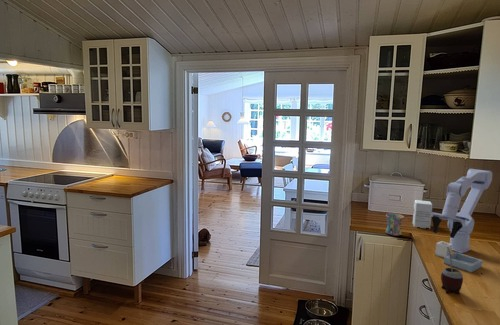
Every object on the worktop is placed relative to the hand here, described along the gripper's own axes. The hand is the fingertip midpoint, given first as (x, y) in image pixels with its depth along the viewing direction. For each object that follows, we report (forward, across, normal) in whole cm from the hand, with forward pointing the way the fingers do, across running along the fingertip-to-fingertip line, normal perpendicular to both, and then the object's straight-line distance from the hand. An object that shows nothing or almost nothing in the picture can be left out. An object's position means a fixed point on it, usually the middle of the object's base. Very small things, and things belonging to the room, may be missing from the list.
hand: (443, 235), depth 159 cm
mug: (+6, -30, +13) cm, 33 cm away
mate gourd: (+22, +18, -24) cm, 37 cm away
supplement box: (-5, -30, +40) cm, 51 cm away
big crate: (+10, +10, +3) cm, 15 cm away
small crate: (+9, 0, +6) cm, 11 cm away
